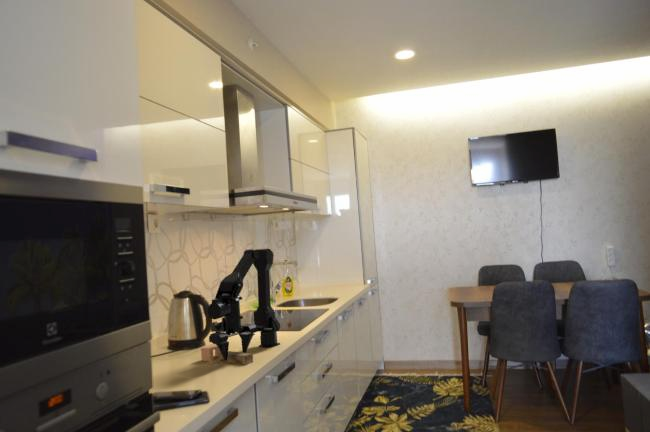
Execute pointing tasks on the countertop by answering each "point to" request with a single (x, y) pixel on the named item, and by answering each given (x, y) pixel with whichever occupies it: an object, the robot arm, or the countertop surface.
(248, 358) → the tan long bar
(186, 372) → the countertop surface
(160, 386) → the countertop surface
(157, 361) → the countertop surface
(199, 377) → the countertop surface
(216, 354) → the pink bridge block
